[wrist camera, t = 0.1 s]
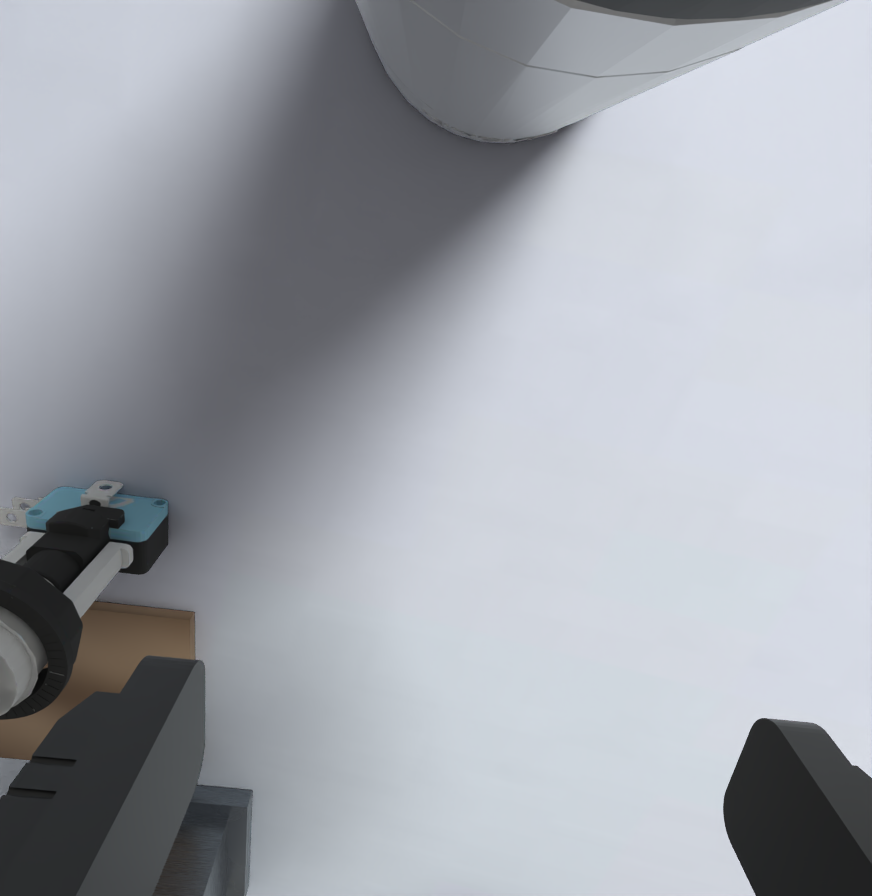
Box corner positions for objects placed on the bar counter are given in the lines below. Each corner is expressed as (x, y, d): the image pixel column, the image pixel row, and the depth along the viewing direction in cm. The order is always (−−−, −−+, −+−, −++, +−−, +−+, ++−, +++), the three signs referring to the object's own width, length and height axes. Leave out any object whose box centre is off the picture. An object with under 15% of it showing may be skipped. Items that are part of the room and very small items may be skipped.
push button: (26, 550, 28) (-174, 730, 19) (14, 440, 26) (-217, 582, 17) (178, 569, 28) (55, 755, 19) (178, 463, 26) (41, 614, 17)
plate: (-27, 588, 29) (-36, 595, 28) (194, 612, 29) (189, 620, 29) (1, 746, 32) (-7, 756, 32) (196, 765, 33) (192, 775, 32)
